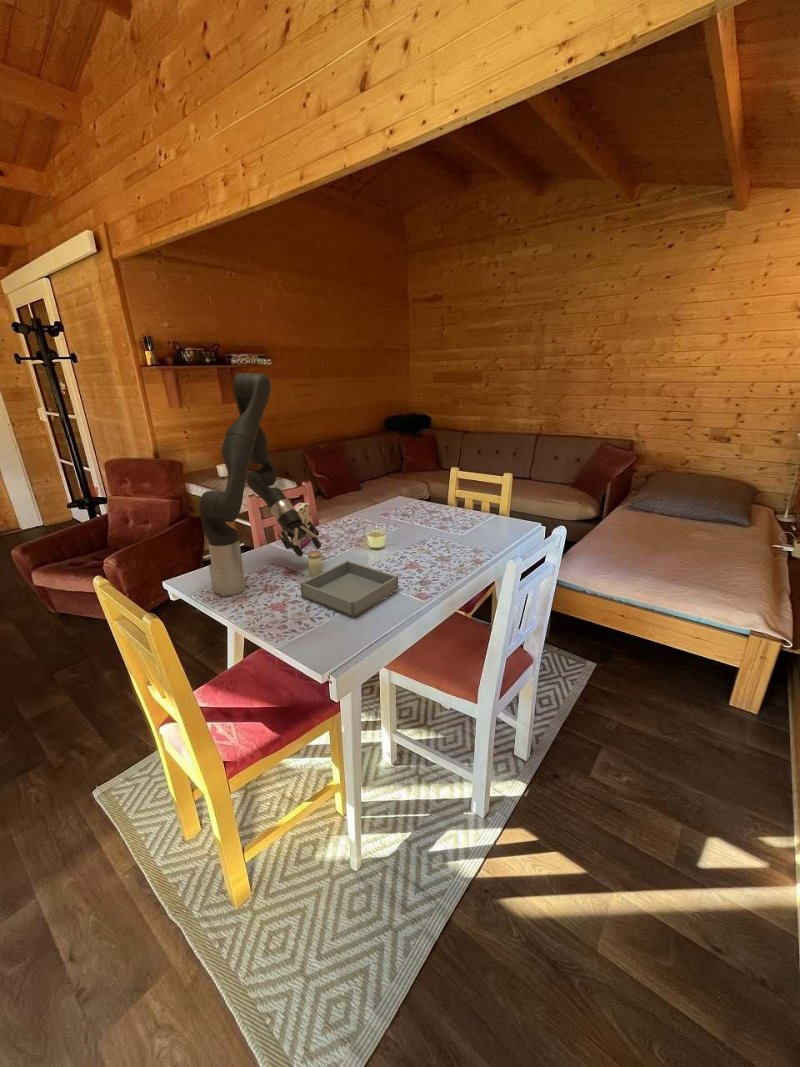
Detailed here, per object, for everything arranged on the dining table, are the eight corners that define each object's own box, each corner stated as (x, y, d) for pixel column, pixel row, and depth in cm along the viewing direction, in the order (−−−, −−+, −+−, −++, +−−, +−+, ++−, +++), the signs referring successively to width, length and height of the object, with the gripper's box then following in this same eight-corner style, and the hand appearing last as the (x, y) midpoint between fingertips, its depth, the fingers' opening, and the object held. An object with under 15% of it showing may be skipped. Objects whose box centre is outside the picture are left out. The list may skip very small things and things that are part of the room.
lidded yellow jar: (315, 578, 156) (314, 557, 153) (306, 574, 159) (304, 553, 156) (325, 573, 160) (324, 552, 157) (316, 570, 163) (314, 549, 160)
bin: (353, 618, 131) (353, 603, 129) (301, 597, 143) (300, 583, 141) (397, 590, 148) (398, 576, 146) (348, 573, 160) (347, 560, 158)
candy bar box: (301, 539, 192) (298, 502, 187) (312, 539, 191) (309, 502, 186) (290, 548, 182) (286, 510, 176) (301, 549, 181) (298, 510, 175)
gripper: (274, 514, 152) (300, 552, 150) (305, 504, 163) (330, 540, 161) (265, 525, 157) (290, 563, 155) (296, 515, 168) (320, 550, 166)
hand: (310, 551), depth 158 cm, fingers open, 8 cm apart
